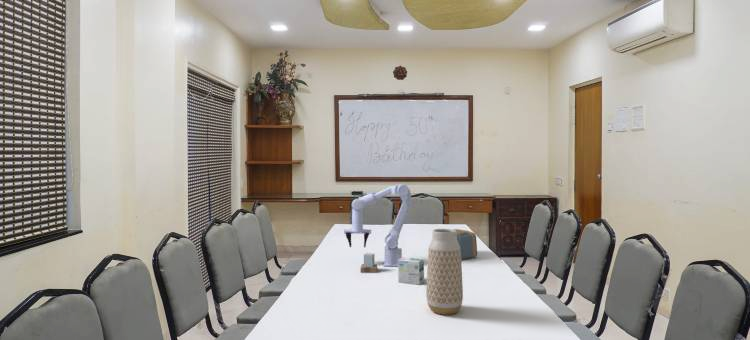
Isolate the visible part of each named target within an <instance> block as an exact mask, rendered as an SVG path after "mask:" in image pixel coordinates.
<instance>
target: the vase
mask: <svg viewBox="0 0 750 340" xmlns="http://www.w3.org/2000/svg"><path fill="white" fill-rule="evenodd" d="M427 254H428V255H427V269H426V271H427V272H426V292H425V293H426V294H425V295H426V302H427V305H428V308H429V309H430V310H431V312H433V313H434V314H437V315H442V316H443V315H444V316H445V315H449V316H451V315H454V314H456V313H458V312H459V311H460V309H461V307H462V304H463V300H464V299H463V298H464V297H463V296H464V288H463V287H464V286H463V270H462V269H463V267H462V265H463V264H462V260H461V249H460V245H459V243H458V241H457V231H456V230H453V228H452V229H451V228H435V229H433V230H432V238H431V241H430V243H429V245H428V252H427Z"/></svg>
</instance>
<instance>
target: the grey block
mask: <svg viewBox="0 0 750 340" xmlns="http://www.w3.org/2000/svg"><path fill="white" fill-rule="evenodd" d="M363 264H364V267H373V266H374V265H375V264H376V263H375V253H370V252H368V253H367V252H365V253H364V254H363Z"/></svg>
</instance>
